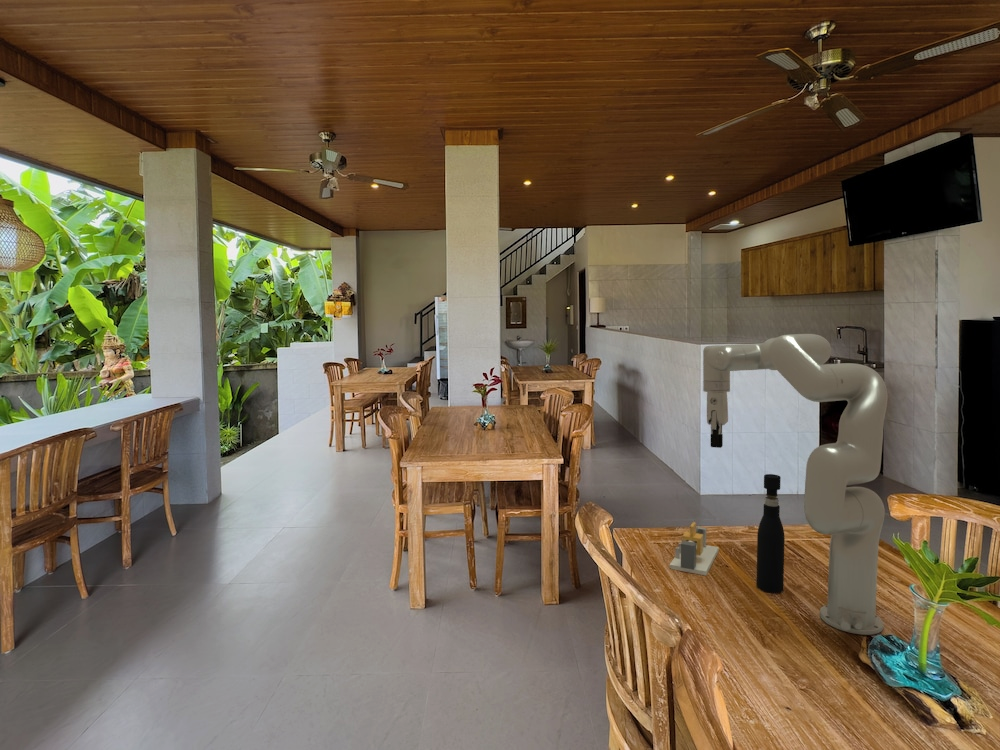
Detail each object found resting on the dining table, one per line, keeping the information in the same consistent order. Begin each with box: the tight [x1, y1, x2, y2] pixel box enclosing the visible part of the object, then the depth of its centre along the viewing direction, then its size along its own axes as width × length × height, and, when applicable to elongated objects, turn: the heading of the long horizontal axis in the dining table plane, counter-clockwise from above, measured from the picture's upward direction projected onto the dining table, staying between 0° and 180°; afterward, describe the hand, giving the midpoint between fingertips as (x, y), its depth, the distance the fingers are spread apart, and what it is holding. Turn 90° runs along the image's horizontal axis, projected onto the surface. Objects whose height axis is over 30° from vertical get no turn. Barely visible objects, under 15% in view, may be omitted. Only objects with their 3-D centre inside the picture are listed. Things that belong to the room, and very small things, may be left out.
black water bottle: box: [756, 473, 786, 594], centre depth 150 cm, size 6×6×30 cm
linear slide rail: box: [669, 526, 720, 577], centre depth 170 cm, size 20×10×8 cm, turn 150°
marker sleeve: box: [682, 521, 703, 556], centre depth 167 cm, size 4×5×8 cm
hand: (716, 446), depth 175 cm, fingers closed
